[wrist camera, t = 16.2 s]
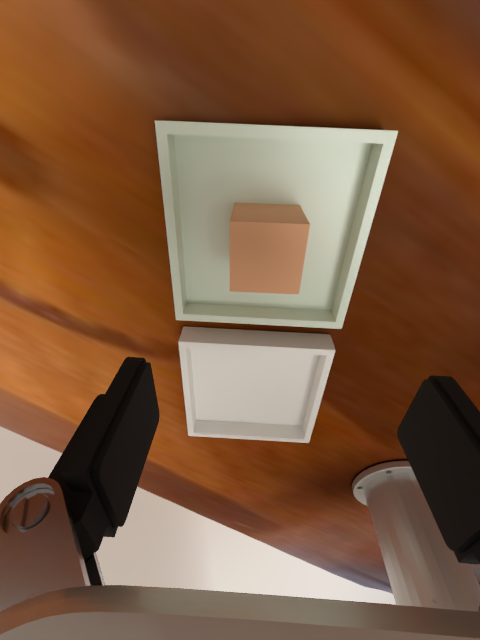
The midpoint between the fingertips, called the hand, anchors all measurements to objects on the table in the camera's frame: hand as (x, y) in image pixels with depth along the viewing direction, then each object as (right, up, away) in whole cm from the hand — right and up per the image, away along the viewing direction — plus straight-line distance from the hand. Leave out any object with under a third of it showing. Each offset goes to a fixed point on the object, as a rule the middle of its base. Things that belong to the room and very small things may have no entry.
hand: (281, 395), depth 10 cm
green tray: (+1, +10, +14) cm, 17 cm away
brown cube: (+1, +9, +13) cm, 17 cm away
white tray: (0, -5, +24) cm, 24 cm away
